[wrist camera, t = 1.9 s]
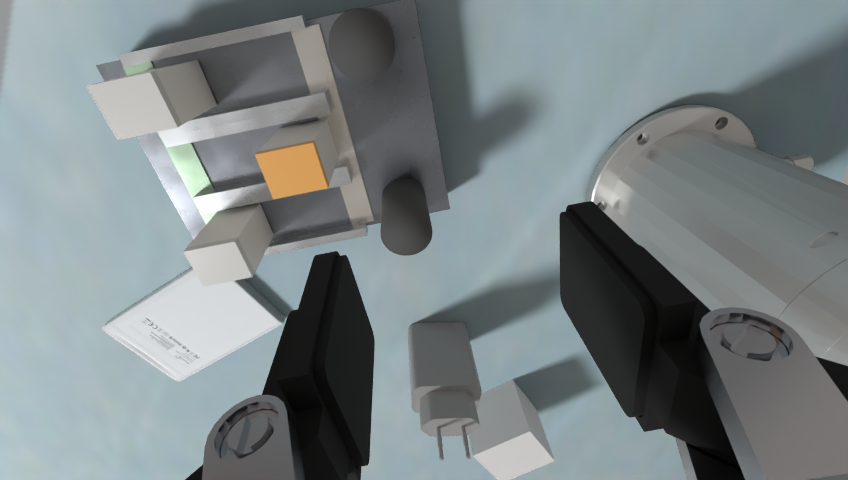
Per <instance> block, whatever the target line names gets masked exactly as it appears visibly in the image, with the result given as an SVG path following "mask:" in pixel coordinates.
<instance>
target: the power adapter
mask: <svg viewBox="0 0 848 480" xmlns="http://www.w3.org/2000/svg"><path fill="white" fill-rule="evenodd" d="M408 350H409V367H410V385H411V403H412V409H413V411H415V412H417V413H420V425H421V430H422V431H423V432H425V433H426V434H428V435H429V436H433V437H437V442H438V448H439V457H440V460H443V459H444V458H443V450H442V438H441V436H460V435H462V437H463V443H464V446H465V452H466V458H467V459H470V453H469V447H468V440H467V435H468V434H470V433H472V432H473V431H475V430H476V429H478V428H479V427H480V423H479V419H478V414H477V409H476V408H477V407H478V406H479V403H480V397H481V386H480V382H479V378H478V373H477V369H476V365H475V361H474V357H473V353H472V349H471V344H470V340H469V336H468V332H467V328H466V325H465V324H464V323H462V322H431V323H414V324H412V325H410V326H409V329H408Z"/></svg>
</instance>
